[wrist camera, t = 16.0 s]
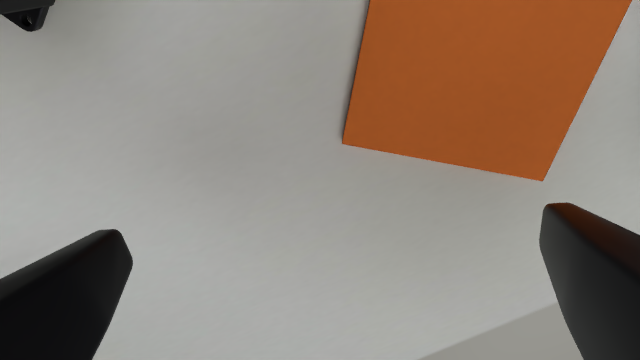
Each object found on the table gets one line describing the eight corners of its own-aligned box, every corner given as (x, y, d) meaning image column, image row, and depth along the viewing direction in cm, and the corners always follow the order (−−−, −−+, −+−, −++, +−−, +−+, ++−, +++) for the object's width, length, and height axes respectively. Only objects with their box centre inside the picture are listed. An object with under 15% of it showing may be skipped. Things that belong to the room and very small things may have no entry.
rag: (342, 140, 21) (341, 146, 20) (417, -239, 14) (419, -248, 13) (540, 177, 20) (545, 184, 20) (718, -189, 13) (734, -196, 13)
